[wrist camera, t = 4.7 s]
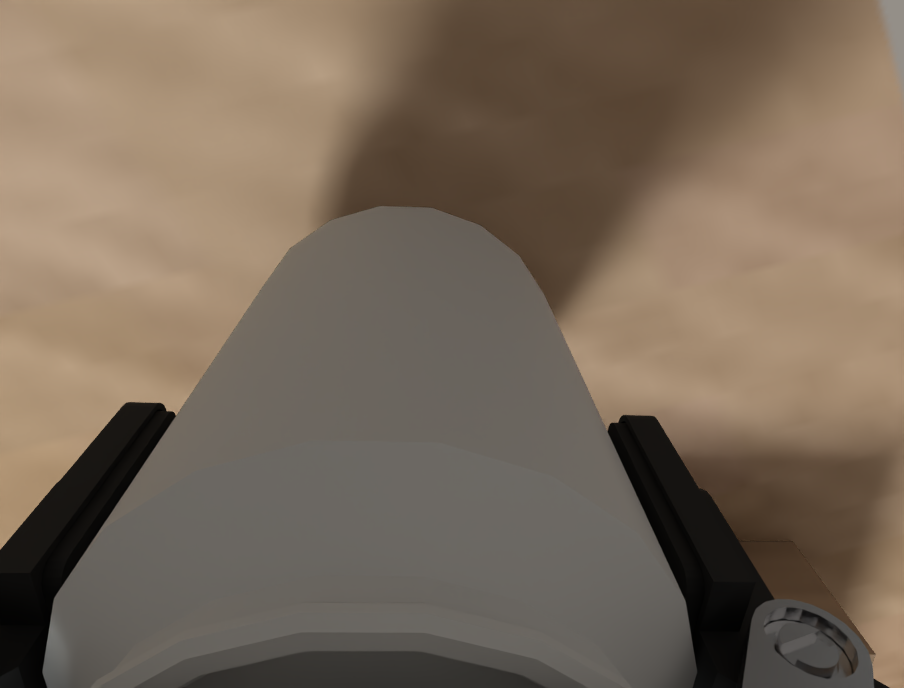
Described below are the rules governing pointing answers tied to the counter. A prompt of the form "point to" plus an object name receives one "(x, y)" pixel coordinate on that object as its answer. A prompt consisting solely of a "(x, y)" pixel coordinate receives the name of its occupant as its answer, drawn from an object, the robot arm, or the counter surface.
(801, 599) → the chopping block
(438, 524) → the can
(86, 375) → the counter surface
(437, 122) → the counter surface
